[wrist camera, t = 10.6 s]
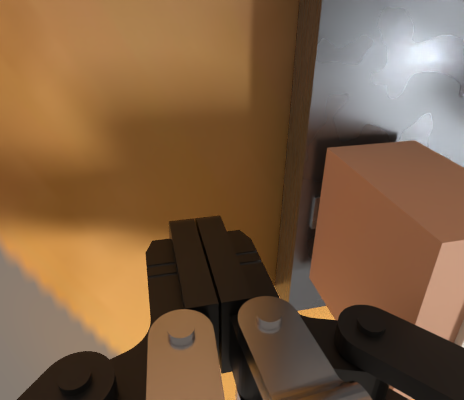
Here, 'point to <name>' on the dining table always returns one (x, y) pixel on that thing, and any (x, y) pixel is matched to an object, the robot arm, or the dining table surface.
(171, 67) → the dining table surface
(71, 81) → the dining table surface
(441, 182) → the fader terracotta
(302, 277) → the console board
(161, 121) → the dining table surface
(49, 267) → the dining table surface
